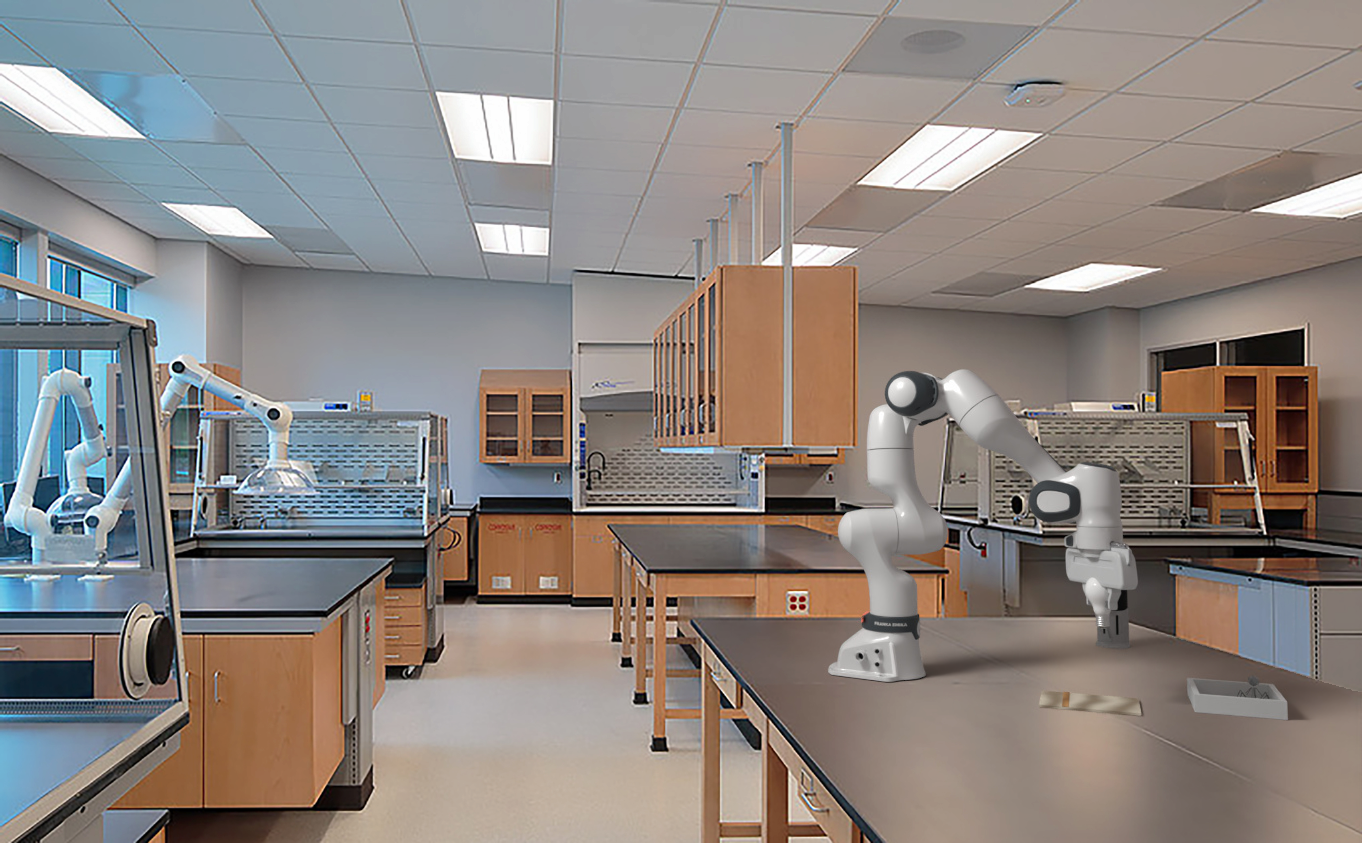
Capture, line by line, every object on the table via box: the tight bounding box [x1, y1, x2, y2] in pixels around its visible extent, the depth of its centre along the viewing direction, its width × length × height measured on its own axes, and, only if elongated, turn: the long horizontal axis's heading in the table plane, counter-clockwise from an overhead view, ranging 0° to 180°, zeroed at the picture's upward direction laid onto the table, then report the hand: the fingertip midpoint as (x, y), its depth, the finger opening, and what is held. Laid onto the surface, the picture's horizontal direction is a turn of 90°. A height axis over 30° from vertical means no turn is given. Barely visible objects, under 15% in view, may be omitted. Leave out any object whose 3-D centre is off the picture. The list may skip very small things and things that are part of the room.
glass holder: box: [1095, 590, 1132, 650], centre depth 264 cm, size 9×14×15 cm, turn 148°
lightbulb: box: [1084, 578, 1111, 629], centre depth 204 cm, size 6×6×11 cm
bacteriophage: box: [1237, 675, 1269, 699], centre depth 201 cm, size 7×8×7 cm
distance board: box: [1038, 690, 1142, 717], centre depth 204 cm, size 19×13×1 cm
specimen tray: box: [1186, 677, 1289, 721], centre depth 201 cm, size 16×16×4 cm
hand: (1101, 607), depth 204 cm, fingers closed on lightbulb, 5 cm apart
